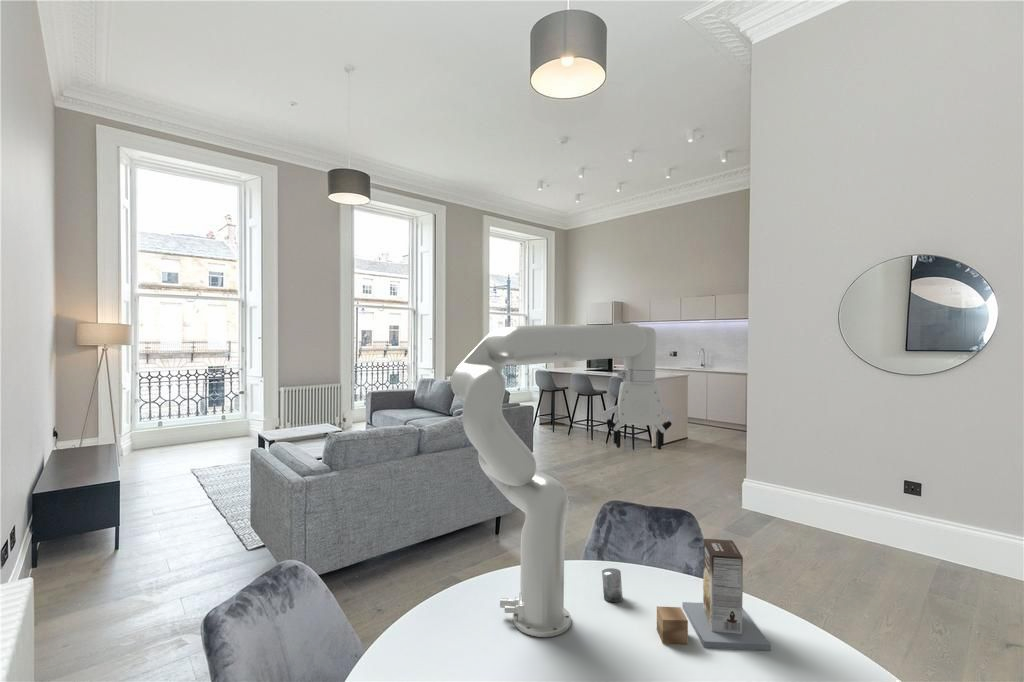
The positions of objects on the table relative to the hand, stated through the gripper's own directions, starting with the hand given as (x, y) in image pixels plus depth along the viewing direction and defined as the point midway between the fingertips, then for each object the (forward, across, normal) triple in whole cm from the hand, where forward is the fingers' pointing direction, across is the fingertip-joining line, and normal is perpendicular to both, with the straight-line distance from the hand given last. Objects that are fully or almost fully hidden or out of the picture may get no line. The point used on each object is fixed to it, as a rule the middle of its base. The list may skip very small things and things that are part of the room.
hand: (638, 447), depth 118 cm
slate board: (+36, +17, -11) cm, 41 cm away
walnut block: (+36, +5, -16) cm, 40 cm away
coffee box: (+35, +16, -11) cm, 40 cm away
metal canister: (+36, -6, -2) cm, 36 cm away
